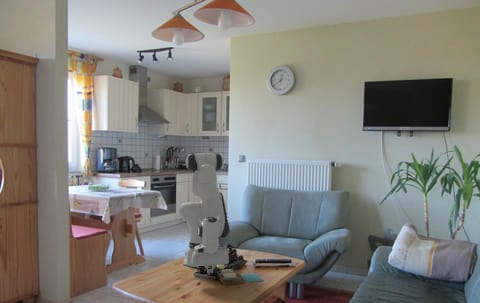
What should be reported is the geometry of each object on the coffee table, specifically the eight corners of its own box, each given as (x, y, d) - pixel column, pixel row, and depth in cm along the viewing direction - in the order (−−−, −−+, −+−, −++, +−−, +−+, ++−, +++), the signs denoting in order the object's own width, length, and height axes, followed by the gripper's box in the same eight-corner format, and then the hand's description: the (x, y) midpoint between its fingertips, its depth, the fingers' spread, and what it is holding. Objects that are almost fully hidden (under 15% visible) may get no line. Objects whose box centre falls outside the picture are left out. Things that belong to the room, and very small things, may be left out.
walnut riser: (217, 276, 214) (217, 271, 214) (236, 274, 217) (236, 270, 217) (223, 285, 201) (223, 280, 201) (243, 283, 204) (243, 279, 204)
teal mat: (240, 274, 217) (240, 274, 217) (256, 273, 220) (256, 273, 220) (246, 282, 206) (246, 281, 206) (263, 281, 208) (263, 280, 208)
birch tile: (221, 273, 212) (221, 269, 212) (231, 272, 214) (231, 268, 214) (225, 278, 203) (225, 275, 203) (235, 277, 205) (235, 274, 205)
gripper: (227, 245, 211) (227, 269, 211) (191, 247, 205) (190, 272, 205) (230, 248, 205) (230, 273, 205) (193, 250, 199) (192, 276, 199)
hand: (210, 273), depth 205 cm, fingers closed
